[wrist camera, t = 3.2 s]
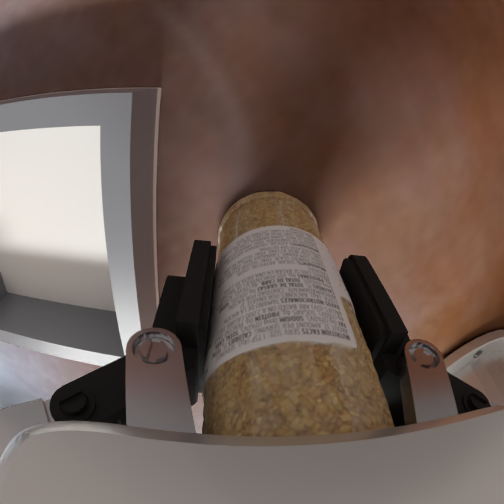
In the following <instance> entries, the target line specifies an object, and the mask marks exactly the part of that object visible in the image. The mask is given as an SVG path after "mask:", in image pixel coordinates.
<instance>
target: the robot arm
mask: <svg viewBox="0 0 504 504" xmlns="http://www.w3.org/2000/svg"><path fill="white" fill-rule="evenodd" d="M216 249H217V246H211V241H202V240H195V241H194V244H193V248H192V253H191V257H190V261H189V265H188V269H187V273H186V277H179V276H169V275H168V276H167V279H166V282H165V285H164V288H163V292H162V295H161V298H160V302H159V305H158V308H157V312H156V315H155V319H154V322H153V326H152V328H146V329H143V330H140V331H138V332H136V333H135V334H133V335H132V336H131V337H130V339H129V340H128V342H127V346H126V355H125V356H123V357H121V358H119V359H117V360H115V361H113V362H111V363H109V364H107V365H105V366H103V367H101V368H99V369H97V370H95V371H93V372H90V373H88V374H86V375H84V376H82V377H80V378H78V379H76V380H74V381H72V382H70V383H68V384H66V385H64V386H62V387H61V388H59V389H57V391H56V392H55V393H54V394H53V395H52V398H51V399H50V400H47V401H43V400H42V398H40V399H37V400H33V401H30V402H26V403H22V404H19V405H15V406H11V407H8V408H4V409H0V504H504V330H496V331H493V332H489V333H487V334H484V335H482V336H480V337H478V338H476V339H474V340H472V341H470V342H468V343H467V344H465V345H463V346H462V347H460V348H459V349H457V350H456V351H454V352H453V353H451V354H450V355H449V356H447V357H446V358H445V359H443V356H442V354H441V352H440V351H439V350H438V348H437V347H435V346H434V345H433V344H432V343H430V342H428V341H425V340H422V339H413V340H410V339H409V337H408V335H407V334H408V331H407V329H406V327H405V325H404V323H403V321H402V319H401V317H400V316H399V314H398V312H397V310H396V308H395V306H394V305H393V303H392V301H391V299H390V297H389V296H388V294H387V292H386V290H385V288H384V287H383V285H382V283H381V281H380V280H379V278H378V276H377V275H376V273H375V271H374V269H373V268H372V266H371V264H370V263H369V261H368V259H367V258H366V257H365V256H357V255H350V256H349V257H348V259H347V258H345V259H344V260H343V263H342V266H341V269H340V272H339V273H340V276H341V278H342V280H343V282H344V285H345V287H346V289H347V292H348V294H349V296H350V299H351V301H352V303H353V306H354V310H355V315H356V319H357V321H358V324H359V327H360V329H361V331H362V334H363V337H364V340H365V342H366V345H367V347H368V349H369V351H370V353H371V357H372V360H373V365H374V367H375V370H376V372H377V374H378V378H379V382H380V384H381V387H382V389H383V392H384V395H385V398H386V400H387V403H388V406H389V411H390V413H391V416H392V420H393V424H394V427H392V428H385V429H378V430H370V431H362V432H352V433H342V434H329V435H313V436H285V437H253V436H226V435H210V434H198V433H196V431H195V425H194V420H193V415H192V409H191V406H192V405H194V404H195V403H196V402H197V399H198V392H199V393H202V384H203V373H204V364H205V359H206V352H207V341H208V331H209V321H210V311H211V301H212V292H213V283H214V274H215V261H216Z"/></svg>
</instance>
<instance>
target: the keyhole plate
mask: <svg viewBox="0 0 504 504" xmlns="http://www.w3.org/2000/svg"><path fill="white" fill-rule="evenodd" d="M160 100H161V88H104V89H87V90H75V91H64V92H54V93H46V94H38V95H31V96H24V97H18V98H12V99H7V100H1V101H0V341H3V342H6V343H9V344H13V345H16V346H19V347H23V348H26V349H30V350H34V351H37V352H41V353H45V354H49V355H53V356H57V357H61V358H66V359H70V360H75V361H79V362H84V363H89V364H94V365H99V366H105V365H107V364H109V363H111V362H113V361H115V360H117V359H119V358H121V357H123V356H125V355H126V346H127V342H128V340H129V339H130V337H131V336H132V335H133V334H135V333H136V332H138V331H140V330H143V329H146V328H152V326H153V322H154V319H155V315H156V312H157V308H158V305H159V291H158V270H157V236H156V184H157V150H158V129H159V113H160Z"/></svg>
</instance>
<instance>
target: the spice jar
mask: <svg viewBox="0 0 504 504" xmlns="http://www.w3.org/2000/svg"><path fill="white" fill-rule="evenodd" d="M218 247H219V258H218V262H217V264H216V268H215V274H214V283H213V292H212V301H211V311H210V321H209V331H208V341H207V352H206V359H205V364H204V373H203V384H202V397H203V402H204V409H203V417H204V421H203V427H202V434H210V435H226V436H253V437H285V436H313V435H329V434H342V433H352V432H362V431H370V430H378V429H385V428H392V427H394V424H393V420H392V416H391V413H390V411H389V406H388V403H387V400H386V398H385V395H384V392H383V389H382V387H381V384H380V382H379V378H378V374H377V372H376V370H375V367H374V365H373V360H372V357H371V353H370V351H369V349H368V347H367V345H366V342H365V340H364V337H363V334H362V331H361V329H360V327H359V324H358V321H357V319H356V315H355V310H354V306H353V303H352V301H351V299H350V296H349V294H348V292H347V289H346V287H345V285H344V282H343V280H342V278H341V276H340V273H339V271H338V269H337V266H336V264H335V262H334V260H333V258H332V255H331V254H330V252H329V250H328V249H327V247H326V246H325V245H324V243H323V241H322V238H321V236H320V234H319V230H318V224H317V221H316V218H315V216H314V215H313V213H312V212H311V211H310V210H309V208H308V207H307V206H306V205H305V204H303V203H302V202H301V201H300V200H298V199H296V198H294V197H292V196H291V195H287V194H285V193H283V192H277V191H275V192H268V191H265V192H258V193H253V194H250V195H248V196H246V197H244V198H241V199H239V200H238V201H237V202H236V203H235V204H234V205H232V206H231V207H230V209H229V210H228V211H227V212H226V214H225V215H224V217H223V219H222V221H221V223H220V226H219V229H218Z"/></svg>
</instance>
